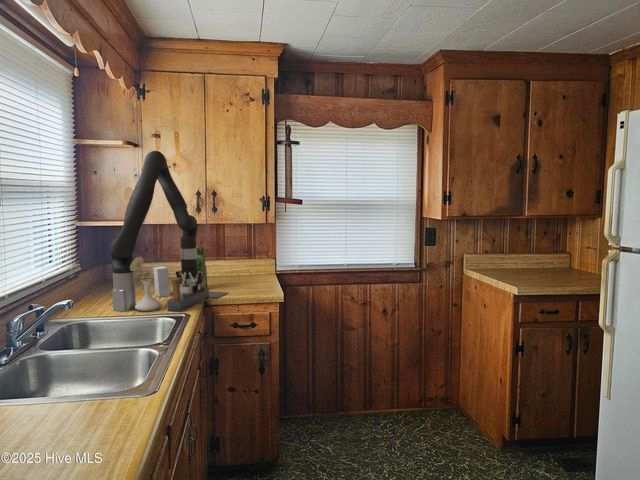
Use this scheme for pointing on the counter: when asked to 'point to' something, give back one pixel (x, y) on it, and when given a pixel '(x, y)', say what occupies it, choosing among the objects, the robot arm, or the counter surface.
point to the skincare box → (161, 281)
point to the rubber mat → (217, 294)
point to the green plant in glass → (201, 265)
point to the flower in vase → (147, 300)
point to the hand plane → (186, 297)
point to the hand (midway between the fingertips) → (190, 292)
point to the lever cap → (188, 288)
